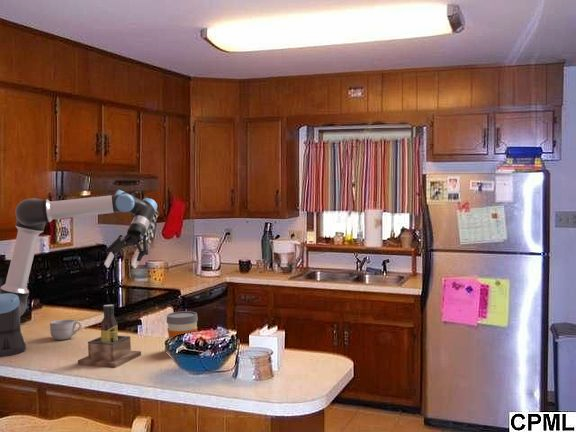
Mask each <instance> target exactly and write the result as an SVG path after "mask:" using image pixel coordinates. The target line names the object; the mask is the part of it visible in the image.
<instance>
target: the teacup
mask: <svg viewBox="0 0 576 432" xmlns="http://www.w3.org/2000/svg"><path fill="white" fill-rule="evenodd" d="M77 324H78V325H79V327H78V328H77V329H76V325H77ZM82 327H83V325H82V322H81V321H79V320H78V321H77V320H75V319H68V318H67V319H58V320H53V321H50V322H49V328H50V329H49V330H50V335H51V337H52V338H53V339H55V340H70V339H71V338H72V337H73V336H74V335H76V334H77V332H79V331H81V329H82Z"/></svg>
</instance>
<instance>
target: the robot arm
mask: <svg viewBox="0 0 576 432" xmlns="http://www.w3.org/2000/svg"><path fill="white" fill-rule="evenodd" d="M157 209H158V204H157V202H156V201H155V199H152V198H149V197H145V198H143V199H139V198H138V197H135V196H133V195H132V194H129V193H127V192H126V191H123V190H120V189H117V190H116V191H115V194H114V195H113V194H112V195H103V196H92V197H82V198H73V199H71V198H70V199H63V200H52V201H50V200H49V199H40V198H38V197H31V198H25V199H24V200H21V201H20V202H19V203H18V204H17V206H16V207H15V217H16V221H15V222H16V223H15V228H16V229H17V234H16V238H15V242H14V246H13V250H12V255H11V259H10V264H9V267H8V272H7V275H6V279H5V283H4V284H3V285H1V286H0V357H8V356H13V355H18V354H21V353H24V352H26V350H27V344H26V342H25V340H24V337H23V334H22V331H21V330H22V329H21V317H22V316H23V315H24V314H25V312H26V310H27V308H28V297H29V294H30V291H29V289H28V288H27V286H28V282H29V277H30V274H31V270H32V264H33V261H34V257H35V253H36V248H37V244H38V241H39V236H40V234H42V233H43V232H44V231H45V228H46V227H45V226H46V224H47V223H51V222H52V221H53V220H59V219H70V218H78V217H87V216H95V215H96V216H97V215H105V214H114V213H129V214H131V215H133V216H134V217H133V219H132V220H131V222H130V225H129V227H128V228H127V231H126V235H125V236H124V235H123V234H119V235H118V238H116V239H115V240H114V241H113V242H112V243H111V244H110V245H108V247H107V248H105V252H106V253H107V255H106V257H105V260H104V262H103V263H104V264H103V265H104V266H105V268H106V269H108V268H109V267H110V265H111V264H112V262H113V260H114V257H115V254H117V253H118V252H120V251H121V250H123V249H124V248H127V247H128V246H129V247H135V246H136V249H137V250H138V252H136V254H135V255H134V259H133V260H132V263H131V266H132V268H133V269H137V267H138V265H139V262H141V261H142V259H143V257H144V256H148V255H149V244H148V242H149V237H148V236H147V235H146V233H147V231H148V228H149V227H150V224H151V222H152V221H153V218H154V216H155V214H156V211H157ZM140 242H142V246H143V247H141V244H140ZM142 248H143V249H142Z"/></svg>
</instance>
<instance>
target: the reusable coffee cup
mask: <svg viewBox="0 0 576 432" xmlns="http://www.w3.org/2000/svg"><path fill="white" fill-rule="evenodd" d="M198 317H199V316H198V313H197V312H195V311H189V310H187V311H184V310H183V311H182V310H181V311H175V312H170V313H168V314H166V324H167V327H168V328H167V335H168V339H169V338H171V337H174V336H176V335H179V334H184V333H189V332H194V331H197V332H198V326H197V325H198Z"/></svg>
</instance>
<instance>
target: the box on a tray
mask: <svg viewBox="0 0 576 432" xmlns="http://www.w3.org/2000/svg"><path fill="white" fill-rule="evenodd" d="M131 345H132V344H131V336H129V335H118V340H117V341H115V342H113V343H109V342H101V336H99V337H97V338H95V339H94V338H93V339H91V340H89V341H87V352H88V355H87V356H84V357H82V358H79V359H78V360H77V365H85V366H94V367H95V366H96V367H107V368H118V367H119V366H122V365H124V364H126V363H127V362H130V361H132V360H134V359H136V358H138V357H141V356H142V351H140V350H132V346H131Z"/></svg>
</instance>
